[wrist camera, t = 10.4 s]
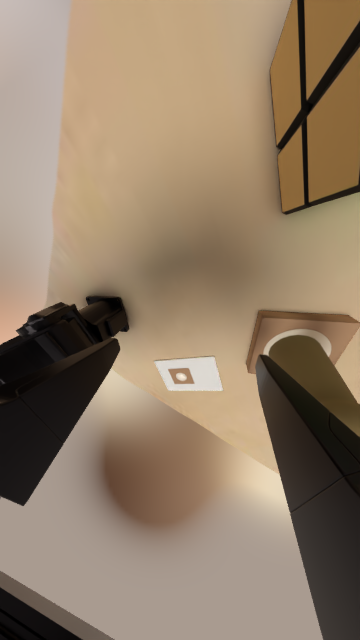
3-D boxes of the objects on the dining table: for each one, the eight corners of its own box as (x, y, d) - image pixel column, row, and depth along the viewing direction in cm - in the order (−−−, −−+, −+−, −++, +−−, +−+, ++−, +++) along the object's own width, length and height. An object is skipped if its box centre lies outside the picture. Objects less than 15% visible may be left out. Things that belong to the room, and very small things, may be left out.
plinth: (246, 363, 25) (248, 373, 23) (259, 310, 20) (263, 318, 18) (314, 372, 23) (323, 383, 21) (348, 315, 18) (362, 323, 16)
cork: (319, 329, 17) (433, 436, 8) (324, 365, 20) (419, 482, 10) (263, 341, 20) (302, 435, 11) (273, 372, 22) (313, 472, 13)
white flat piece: (168, 389, 33) (168, 391, 33) (154, 360, 30) (153, 362, 29) (223, 389, 29) (223, 391, 29) (214, 355, 26) (214, 357, 25)
